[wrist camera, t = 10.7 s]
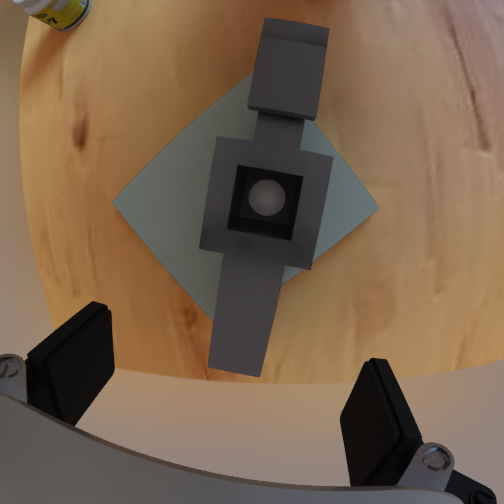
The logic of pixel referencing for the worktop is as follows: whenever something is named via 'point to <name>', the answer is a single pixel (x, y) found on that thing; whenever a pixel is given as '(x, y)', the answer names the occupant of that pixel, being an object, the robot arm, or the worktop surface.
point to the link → (258, 236)
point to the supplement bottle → (57, 11)
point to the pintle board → (257, 182)
